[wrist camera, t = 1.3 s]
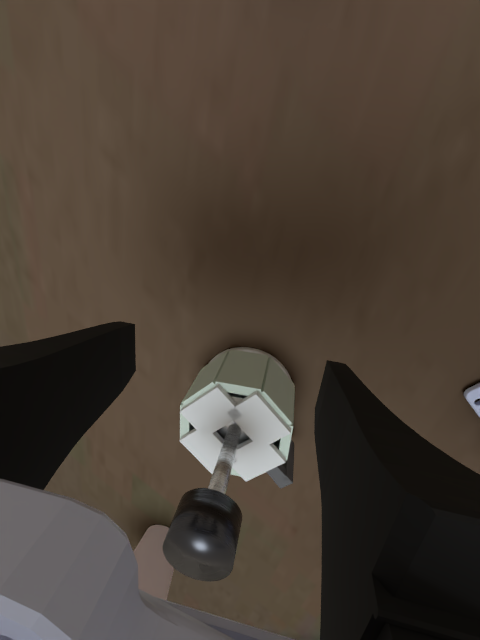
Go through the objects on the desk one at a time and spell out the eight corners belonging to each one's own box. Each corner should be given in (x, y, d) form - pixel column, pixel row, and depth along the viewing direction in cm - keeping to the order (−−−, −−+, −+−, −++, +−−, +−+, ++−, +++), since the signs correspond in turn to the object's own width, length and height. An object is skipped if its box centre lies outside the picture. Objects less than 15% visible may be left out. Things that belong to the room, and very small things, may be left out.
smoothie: (160, 563, 35) (75, 781, 22) (122, 524, 33) (8, 731, 20) (204, 550, 32) (139, 784, 19) (166, 507, 31) (69, 728, 18)
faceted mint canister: (327, 416, 24) (332, 474, 19) (255, 453, 26) (244, 512, 22) (253, 329, 22) (238, 367, 17) (185, 377, 25) (156, 422, 20)
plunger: (290, 439, 20) (283, 579, 12) (231, 469, 21) (195, 607, 14) (239, 381, 19) (199, 495, 12) (181, 418, 21) (117, 536, 13)
